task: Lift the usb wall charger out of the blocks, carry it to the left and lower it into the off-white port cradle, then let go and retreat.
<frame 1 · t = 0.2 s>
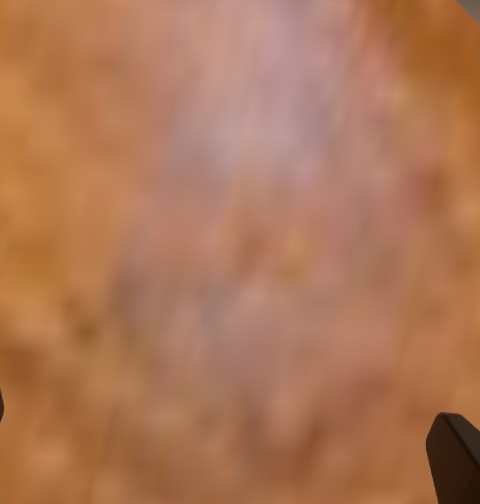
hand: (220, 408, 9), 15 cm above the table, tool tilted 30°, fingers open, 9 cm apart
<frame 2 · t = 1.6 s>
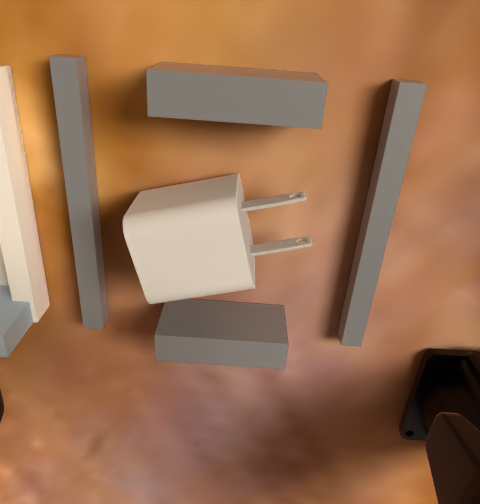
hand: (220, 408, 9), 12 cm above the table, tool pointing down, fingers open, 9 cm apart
usb wall charger: (228, 212, 20), on the table
blocks: (230, 215, 20), on the table
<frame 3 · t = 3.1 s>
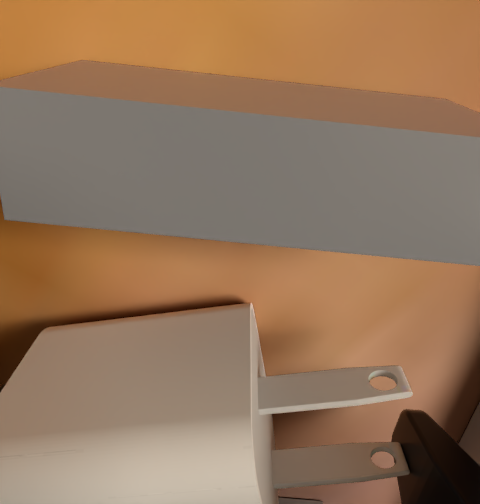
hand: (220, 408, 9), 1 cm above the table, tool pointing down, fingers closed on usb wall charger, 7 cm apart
usb wall charger: (226, 359, 10), on the table, touching gripper
blocks: (232, 366, 10), on the table
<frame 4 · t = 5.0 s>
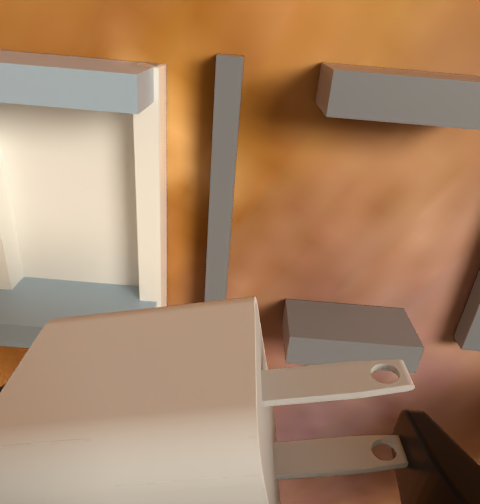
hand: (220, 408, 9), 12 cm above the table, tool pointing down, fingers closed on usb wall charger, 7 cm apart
usb wall charger: (228, 352, 10), point 10 cm above the table, touching gripper
blocks: (364, 217, 20), on the table
port: (78, 193, 20), on the table
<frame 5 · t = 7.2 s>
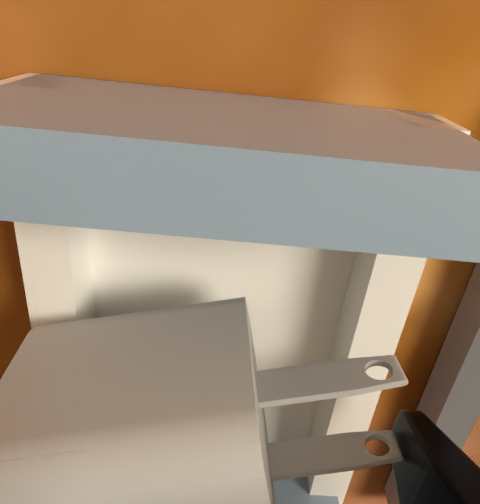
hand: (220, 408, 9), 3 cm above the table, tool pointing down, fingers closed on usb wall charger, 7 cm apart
usb wall charger: (218, 354, 10), point 1 cm above the table, touching gripper, port
port: (216, 324, 11), on the table
when the fingers open (3 cm above the table, at t = 8.0 s): usb wall charger stays where it is, resting on port.
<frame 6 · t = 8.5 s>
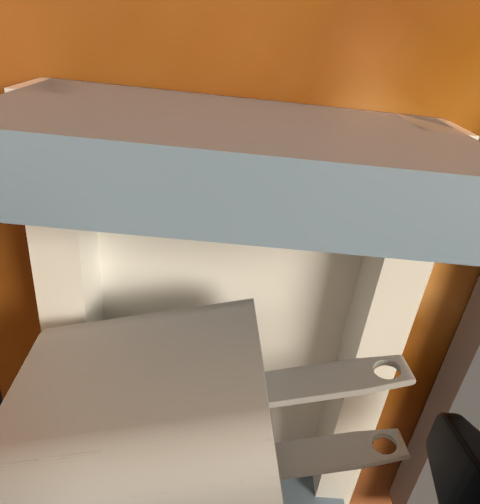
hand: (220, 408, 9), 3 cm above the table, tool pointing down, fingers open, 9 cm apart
usb wall charger: (225, 354, 10), point 1 cm above the table, touching port
port: (223, 327, 11), on the table
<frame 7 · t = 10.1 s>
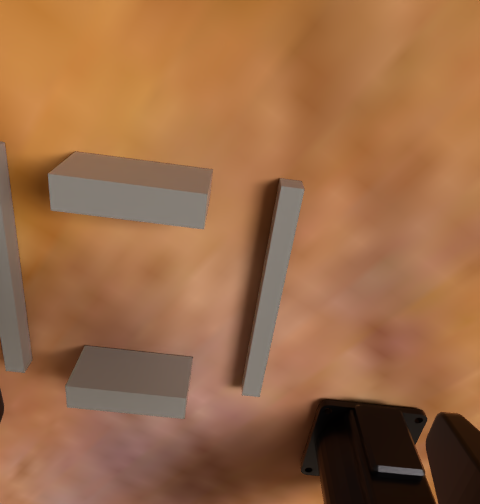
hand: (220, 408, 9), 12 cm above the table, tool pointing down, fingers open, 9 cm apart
blocks: (141, 280, 22), on the table
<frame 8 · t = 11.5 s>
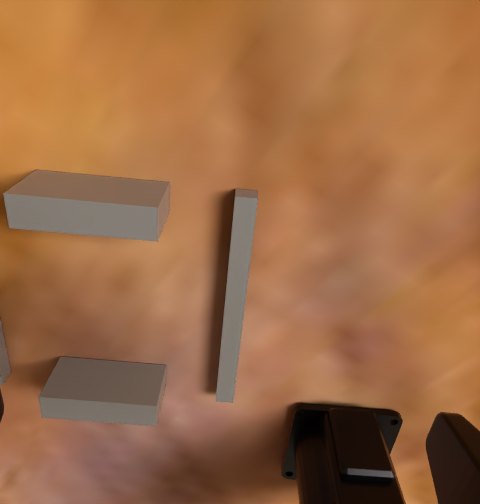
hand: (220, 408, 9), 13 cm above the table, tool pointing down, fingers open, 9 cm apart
blocks: (109, 291, 23), on the table
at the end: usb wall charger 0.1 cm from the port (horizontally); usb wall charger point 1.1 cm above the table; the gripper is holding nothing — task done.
